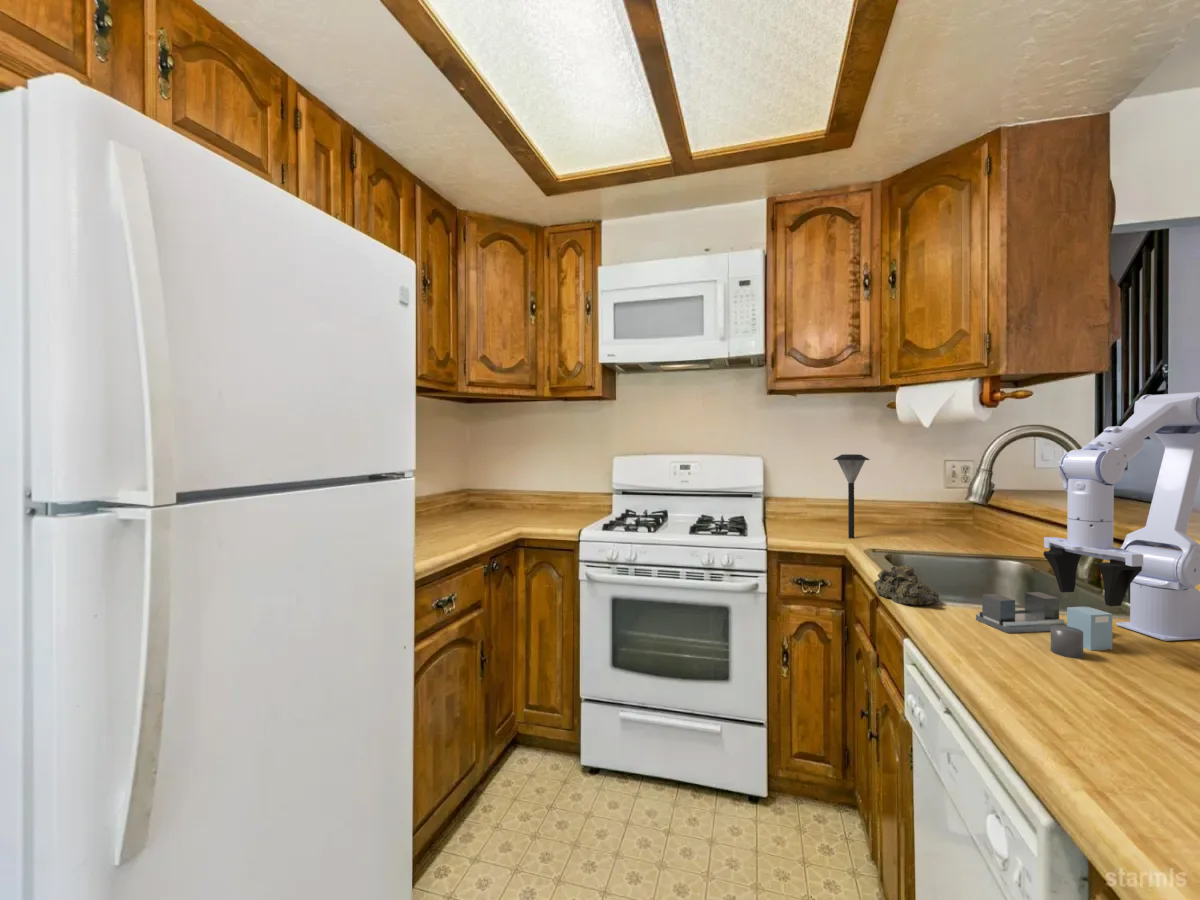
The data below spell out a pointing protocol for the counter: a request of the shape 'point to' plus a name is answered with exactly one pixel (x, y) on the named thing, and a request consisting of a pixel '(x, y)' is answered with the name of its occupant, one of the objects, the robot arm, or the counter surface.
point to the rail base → (1020, 613)
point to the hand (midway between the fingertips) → (1089, 598)
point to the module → (1092, 626)
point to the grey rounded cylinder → (1067, 641)
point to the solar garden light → (851, 482)
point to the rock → (904, 587)
